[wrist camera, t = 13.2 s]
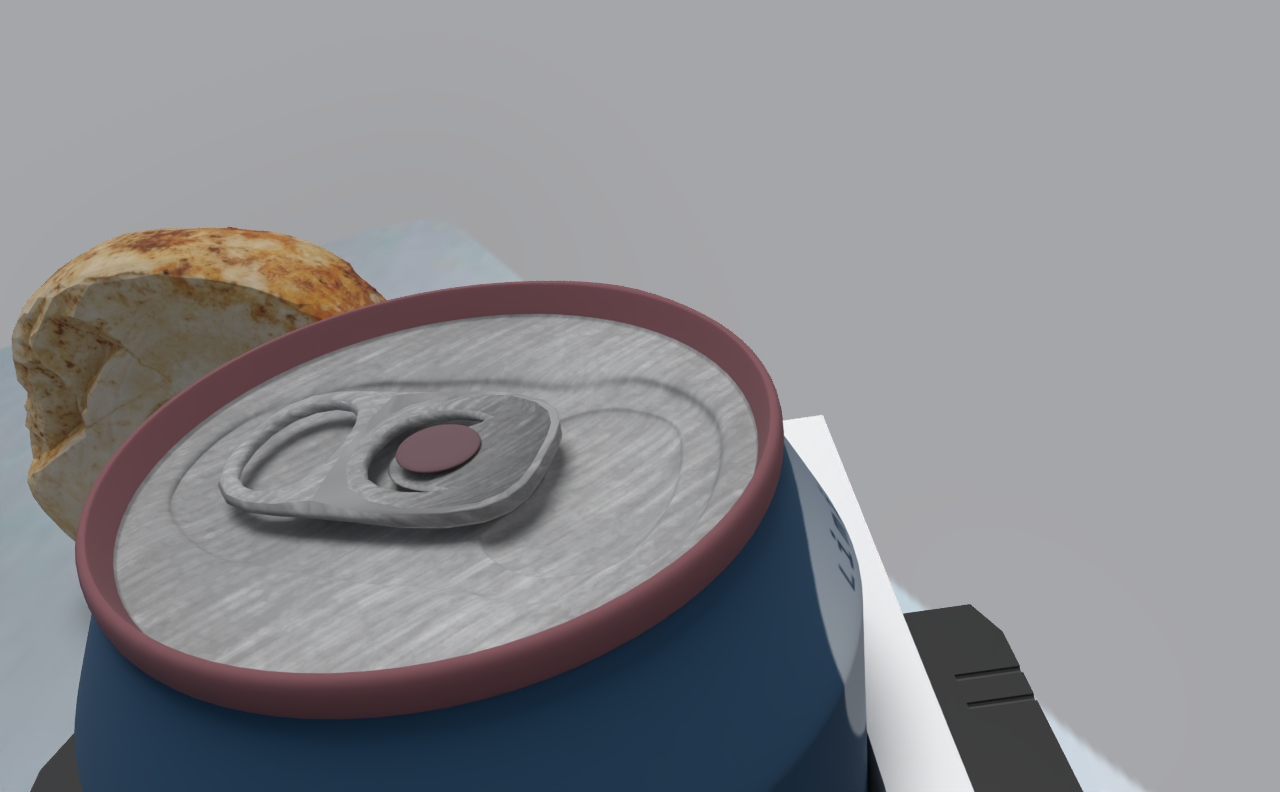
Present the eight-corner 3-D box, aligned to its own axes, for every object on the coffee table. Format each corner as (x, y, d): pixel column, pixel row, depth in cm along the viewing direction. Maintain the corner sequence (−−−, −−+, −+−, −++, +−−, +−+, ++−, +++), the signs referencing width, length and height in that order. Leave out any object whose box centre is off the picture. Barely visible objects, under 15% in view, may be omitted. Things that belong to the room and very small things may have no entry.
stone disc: (496, 540, 32) (418, 190, 26) (452, 637, 28) (353, 261, 23) (153, 530, 34) (20, 206, 29) (78, 618, 31) (-87, 273, 26)
